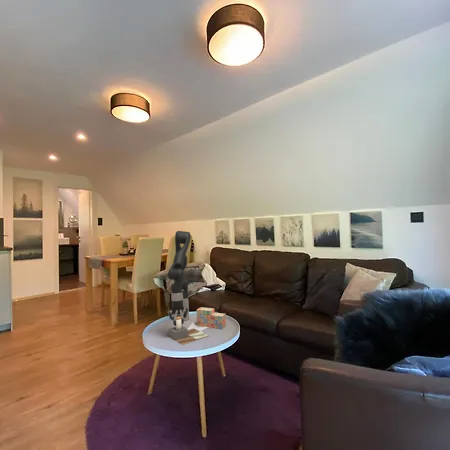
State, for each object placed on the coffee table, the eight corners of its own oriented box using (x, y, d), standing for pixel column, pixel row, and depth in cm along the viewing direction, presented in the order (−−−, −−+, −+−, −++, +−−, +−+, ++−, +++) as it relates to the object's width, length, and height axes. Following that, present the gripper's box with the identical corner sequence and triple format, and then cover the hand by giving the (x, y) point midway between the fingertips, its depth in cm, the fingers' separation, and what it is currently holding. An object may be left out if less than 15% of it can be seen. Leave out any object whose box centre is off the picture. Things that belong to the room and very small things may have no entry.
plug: (175, 333, 186) (174, 315, 186) (181, 332, 188) (180, 314, 188) (176, 335, 182) (176, 317, 183) (182, 334, 184) (182, 316, 184)
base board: (167, 338, 186) (167, 335, 186) (193, 330, 199) (193, 327, 199) (182, 347, 171) (182, 344, 171) (209, 338, 183) (209, 335, 183)
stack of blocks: (226, 326, 204) (225, 309, 204) (222, 329, 198) (221, 312, 198) (201, 323, 214) (200, 306, 214) (197, 325, 208) (196, 309, 208)
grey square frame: (169, 336, 186) (168, 328, 186) (181, 332, 191) (180, 325, 191) (175, 340, 179) (175, 332, 179) (187, 336, 184) (187, 328, 184)
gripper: (185, 296, 192) (186, 321, 192) (165, 299, 185) (166, 325, 185) (189, 298, 185) (190, 324, 185) (168, 302, 179) (169, 328, 179)
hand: (178, 324), depth 185 cm, fingers closed on plug, 4 cm apart
